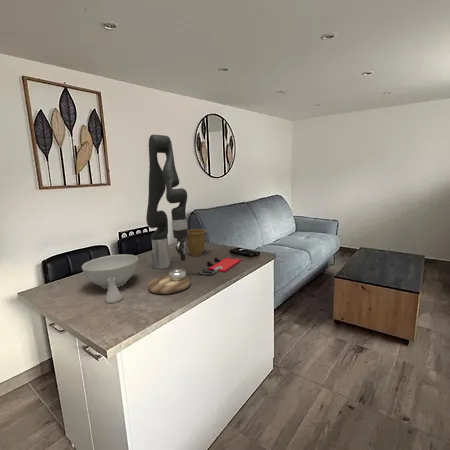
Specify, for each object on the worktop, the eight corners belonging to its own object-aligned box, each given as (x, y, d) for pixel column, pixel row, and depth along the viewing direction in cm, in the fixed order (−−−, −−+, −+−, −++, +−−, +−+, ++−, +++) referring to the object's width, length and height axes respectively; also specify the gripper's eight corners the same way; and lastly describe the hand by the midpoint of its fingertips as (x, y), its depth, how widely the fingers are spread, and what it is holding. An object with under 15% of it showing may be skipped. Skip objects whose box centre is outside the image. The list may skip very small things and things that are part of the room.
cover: (167, 281, 142) (166, 272, 141) (173, 275, 150) (172, 267, 149) (182, 281, 141) (182, 272, 140) (188, 275, 148) (187, 267, 147)
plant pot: (206, 257, 188) (205, 232, 185) (183, 258, 189) (181, 234, 186) (208, 251, 203) (206, 228, 200) (187, 252, 203) (185, 229, 200)
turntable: (141, 294, 135) (140, 289, 134) (158, 278, 154) (158, 274, 153) (182, 295, 131) (182, 290, 130) (195, 279, 150) (194, 274, 150)
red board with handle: (194, 274, 158) (218, 277, 151) (194, 269, 158) (218, 272, 151) (220, 259, 184) (242, 261, 177) (220, 254, 184) (242, 257, 177)
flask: (112, 305, 126) (109, 283, 124) (102, 301, 130) (99, 280, 128) (126, 298, 132) (123, 277, 130) (115, 295, 136) (113, 275, 134)
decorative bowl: (72, 292, 143) (68, 268, 141) (112, 273, 167) (109, 253, 165) (116, 297, 133) (112, 272, 131) (151, 277, 157) (148, 255, 155)
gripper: (177, 226, 157) (180, 257, 160) (168, 230, 144) (172, 264, 147) (190, 225, 155) (193, 256, 158) (183, 230, 143) (186, 264, 146)
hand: (183, 260), depth 153 cm, fingers closed
